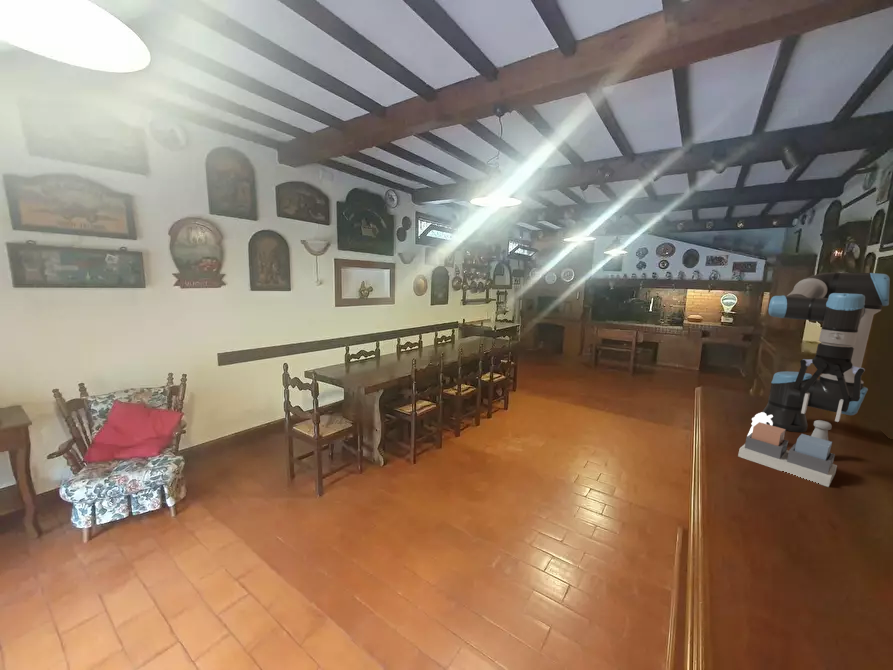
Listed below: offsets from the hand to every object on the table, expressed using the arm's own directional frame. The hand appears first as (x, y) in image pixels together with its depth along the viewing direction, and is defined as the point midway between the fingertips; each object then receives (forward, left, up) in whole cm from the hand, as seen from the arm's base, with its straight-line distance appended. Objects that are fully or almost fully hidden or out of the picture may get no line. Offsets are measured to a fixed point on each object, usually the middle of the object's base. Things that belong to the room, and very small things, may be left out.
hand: (819, 416), depth 114 cm
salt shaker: (-18, 0, -19) cm, 26 cm away
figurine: (-14, -16, -19) cm, 28 cm away
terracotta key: (0, -11, -13) cm, 17 cm away
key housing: (0, -6, -19) cm, 20 cm away
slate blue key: (0, 0, -13) cm, 13 cm away
